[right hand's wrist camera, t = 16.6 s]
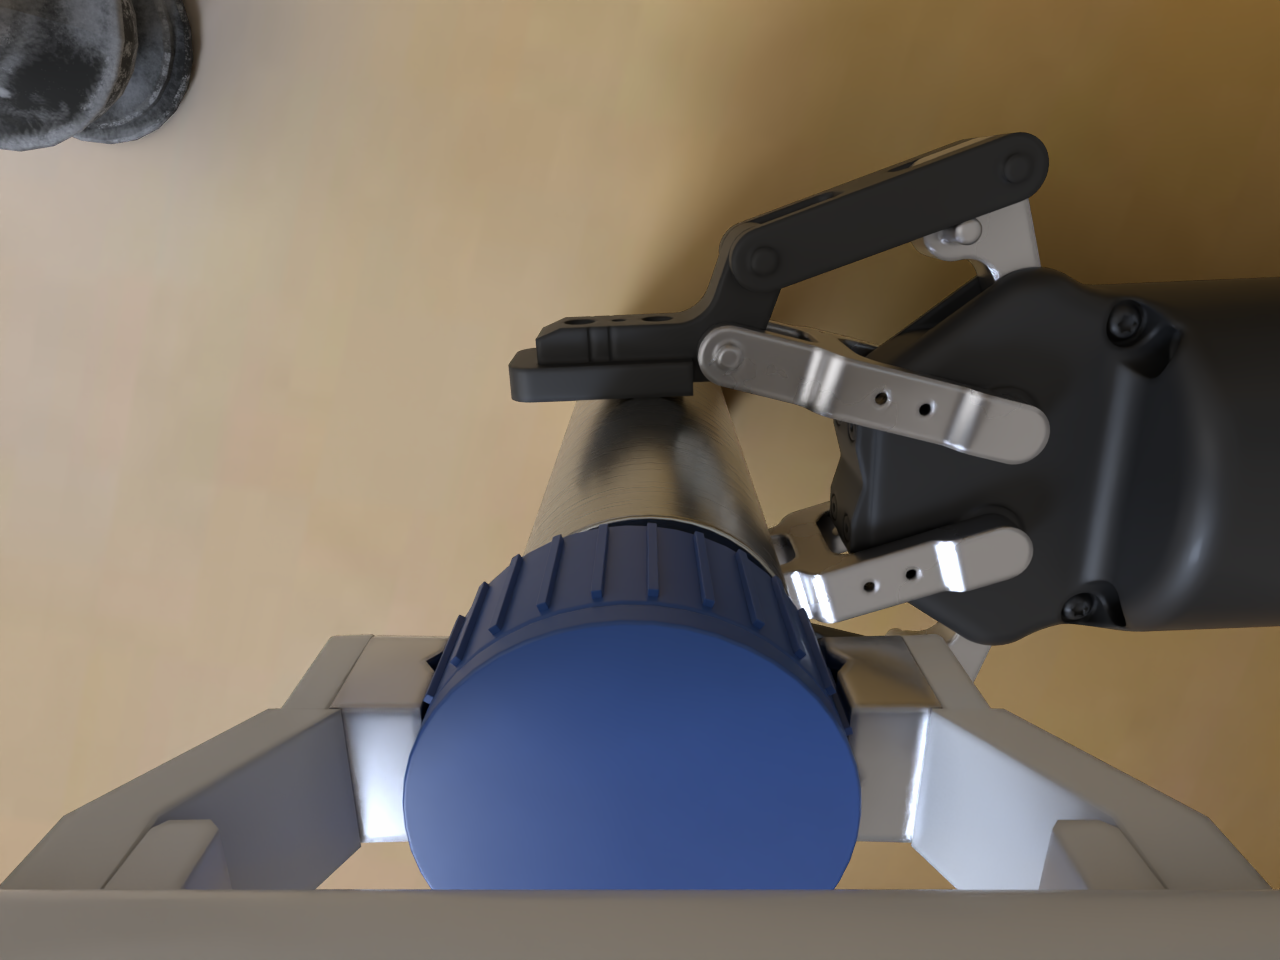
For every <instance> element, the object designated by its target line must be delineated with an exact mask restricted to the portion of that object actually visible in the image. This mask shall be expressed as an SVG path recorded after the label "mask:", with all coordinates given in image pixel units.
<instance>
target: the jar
mask: <svg viewBox="0 0 1280 960" xmlns="http://www.w3.org/2000/svg"><path fill="white" fill-rule="evenodd" d="M647 523H656V524H657V527H661V528H668V529H675V530H679V531H683V532H687V533H690V534H694V533H695V531H697V532H701V533H703V534H704V538H707V539H709V540H711V541H714V542H716V543H719V544H721V545H724V546H726V547H728V548H730V549H731V550H733V551H735V552H737V551H738V549H740V550H742V551H744V552H746V554H747V558H748V559H749V560H750V561H751V562H753V563H754V564H755V565H757V566H758V567H759V568H761V569H762V570H763V571H765V572H766V573H767V574H768V575H769V576H770V577H771V578H772V577H774V576H775V575H776V576H777V577H779V578H780V579H781V581H782V584H783V587H784V590H785V593H786V594H787V595H788V597H789V598H790V599H791V596H790V593H789V590H788V587H787V584H786V581H785V578H784V575H783V572H782V569H781V566H780V563H779V560H778V557H777V554H776V551H775V548H774V545H773V542H772V539H771V536H770V533H769V530H768V527H767V524H766V521H765V518H764V515H763V512H762V509H761V506H760V503H759V500H758V497H757V494H756V491H755V488H754V485H753V482H752V479H751V476H750V473H749V470H748V467H747V464H746V461H745V458H744V455H743V452H742V449H741V446H740V443H739V440H738V437H737V434H736V431H735V428H734V425H733V422H732V419H731V416H730V413H729V410H728V407H727V404H726V401H725V398H724V395H723V392H722V389H721V386H719V385H716V384H714V383H712V382H693V396H677V397H642V398H628V399H603V400H578V401H576V404H575V407H574V410H573V413H572V416H571V419H570V422H569V424H568V427H567V430H566V433H565V436H564V439H563V442H562V445H561V448H560V451H559V453H558V456H557V459H556V462H555V465H554V468H553V471H552V474H551V477H550V480H549V482H548V485H547V488H546V491H545V494H544V497H543V500H542V503H541V506H540V508H539V511H538V514H537V517H536V520H535V523H534V526H533V529H532V532H531V535H530V537H529V540H528V543H527V546H526V549H525V552H524V555H523V556H525V555H526V554H528V553H529V552H531V551H533V550H535V549H537V548H539V547H541V546H543V545H545V544H547V543H549V542H552V539H553V537H554V536H557V535H559V534H561V535H562V537H566V536H569V535H572V534H575V533H579V532H584V531H588V530H593V529H597V528H599V525H601V524H608V527H615V526H647ZM791 601H792V599H791Z"/></svg>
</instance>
